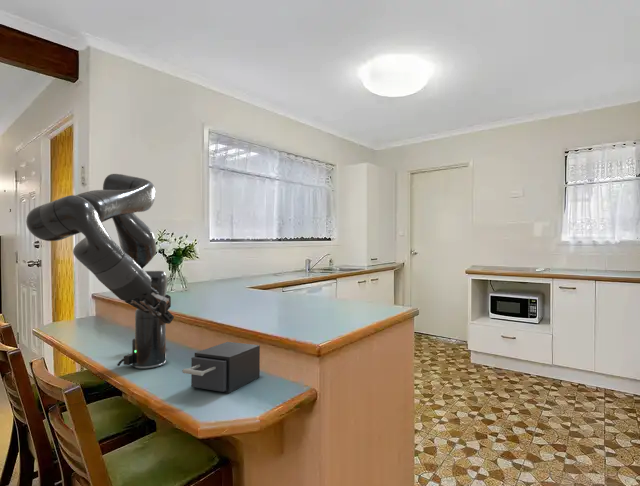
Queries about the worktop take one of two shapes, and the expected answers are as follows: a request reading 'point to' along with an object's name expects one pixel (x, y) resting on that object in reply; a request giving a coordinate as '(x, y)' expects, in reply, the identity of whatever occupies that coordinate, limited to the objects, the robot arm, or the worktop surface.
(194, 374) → the dark grey drawer
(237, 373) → the dark grey drawer box
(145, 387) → the worktop surface
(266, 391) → the worktop surface
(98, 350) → the worktop surface
